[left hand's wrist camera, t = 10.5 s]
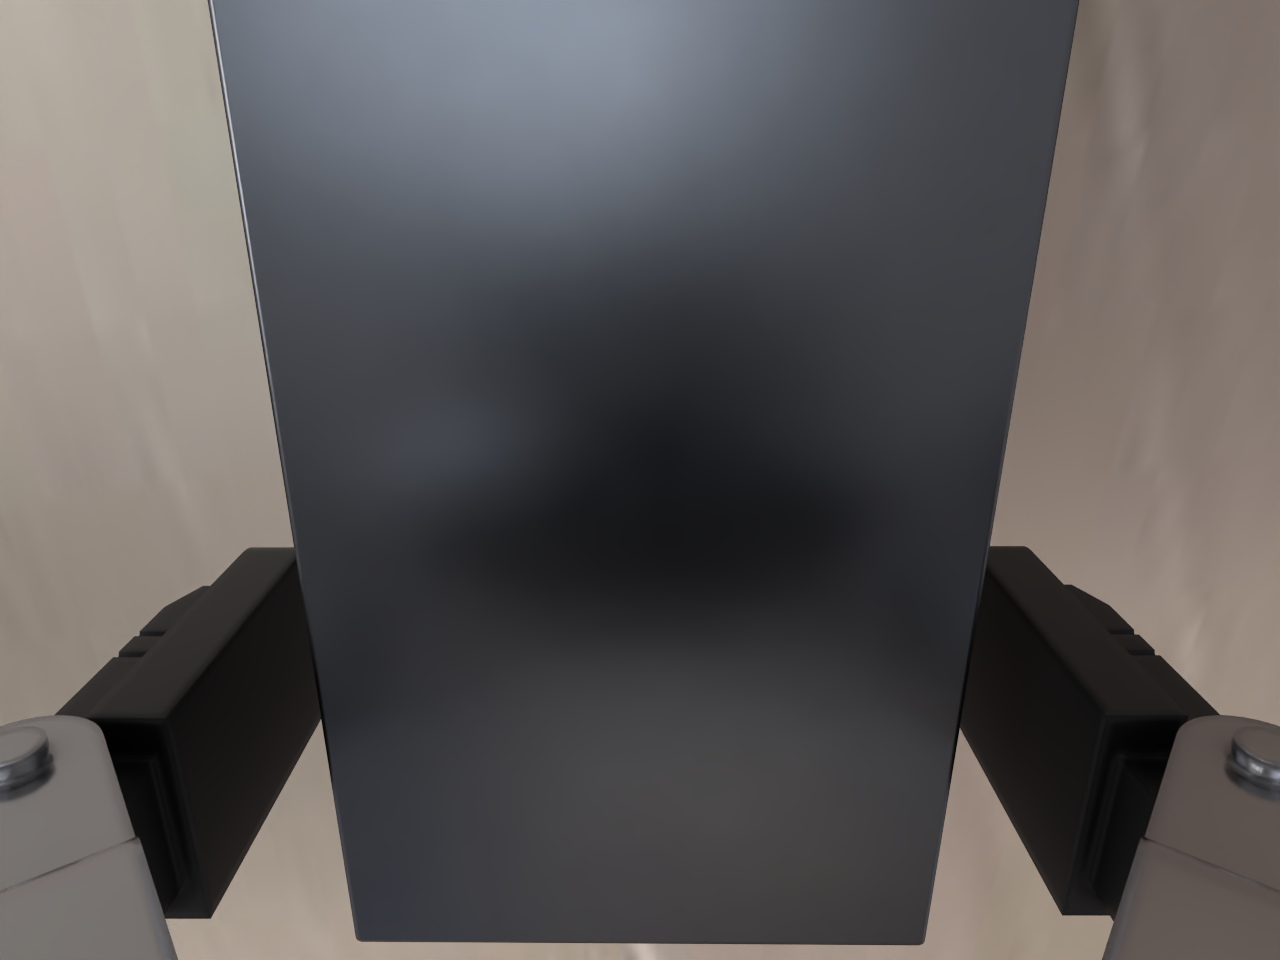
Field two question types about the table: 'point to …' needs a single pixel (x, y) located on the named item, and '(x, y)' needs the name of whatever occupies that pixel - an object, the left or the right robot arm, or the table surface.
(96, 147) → the table surface
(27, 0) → the table surface
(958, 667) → the box
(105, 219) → the table surface
